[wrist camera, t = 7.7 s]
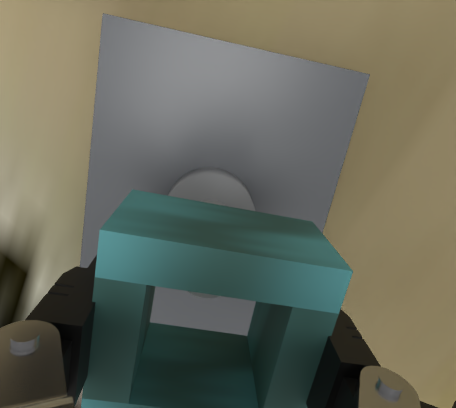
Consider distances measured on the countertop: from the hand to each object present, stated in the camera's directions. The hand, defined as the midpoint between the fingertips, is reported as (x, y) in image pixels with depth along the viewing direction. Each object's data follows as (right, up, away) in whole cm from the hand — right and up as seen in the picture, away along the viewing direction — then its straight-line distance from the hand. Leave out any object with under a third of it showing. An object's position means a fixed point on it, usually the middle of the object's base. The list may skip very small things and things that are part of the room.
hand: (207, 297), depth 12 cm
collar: (0, 0, +1) cm, 1 cm away
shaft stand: (0, +3, +10) cm, 11 cm away
